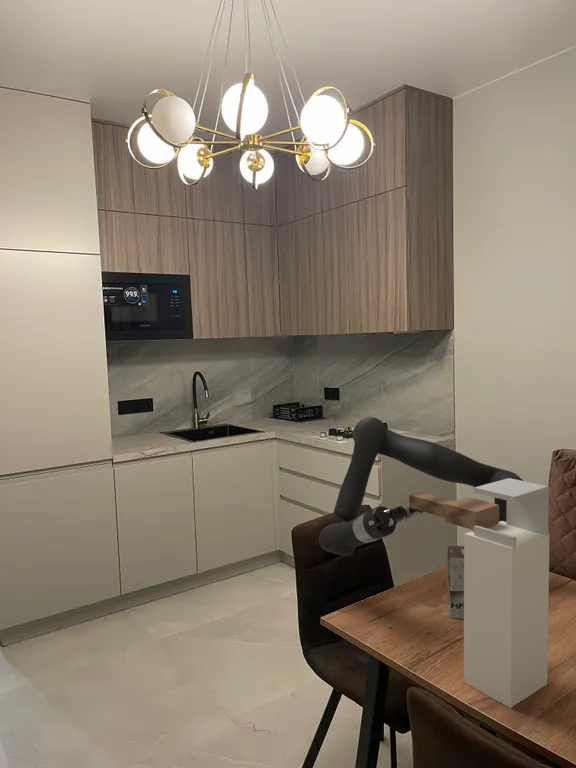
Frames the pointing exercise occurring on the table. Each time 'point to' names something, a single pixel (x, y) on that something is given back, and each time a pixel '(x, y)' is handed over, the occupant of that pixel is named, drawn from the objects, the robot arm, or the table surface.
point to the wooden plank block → (458, 510)
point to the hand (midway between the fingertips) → (415, 506)
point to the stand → (508, 595)
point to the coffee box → (455, 581)
